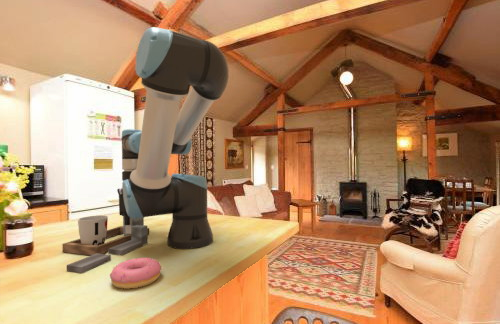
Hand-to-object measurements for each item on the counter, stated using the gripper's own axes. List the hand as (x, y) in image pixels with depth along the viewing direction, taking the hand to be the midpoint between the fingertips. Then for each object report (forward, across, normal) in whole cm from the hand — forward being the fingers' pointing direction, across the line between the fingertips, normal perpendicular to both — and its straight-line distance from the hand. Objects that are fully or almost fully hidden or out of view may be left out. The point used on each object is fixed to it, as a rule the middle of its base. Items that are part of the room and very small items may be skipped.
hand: (133, 231), depth 101 cm
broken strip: (+1, +20, +10) cm, 23 cm away
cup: (+1, +18, 0) cm, 18 cm away
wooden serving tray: (+1, +11, 0) cm, 11 cm away
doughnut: (+2, +32, +29) cm, 43 cm away
